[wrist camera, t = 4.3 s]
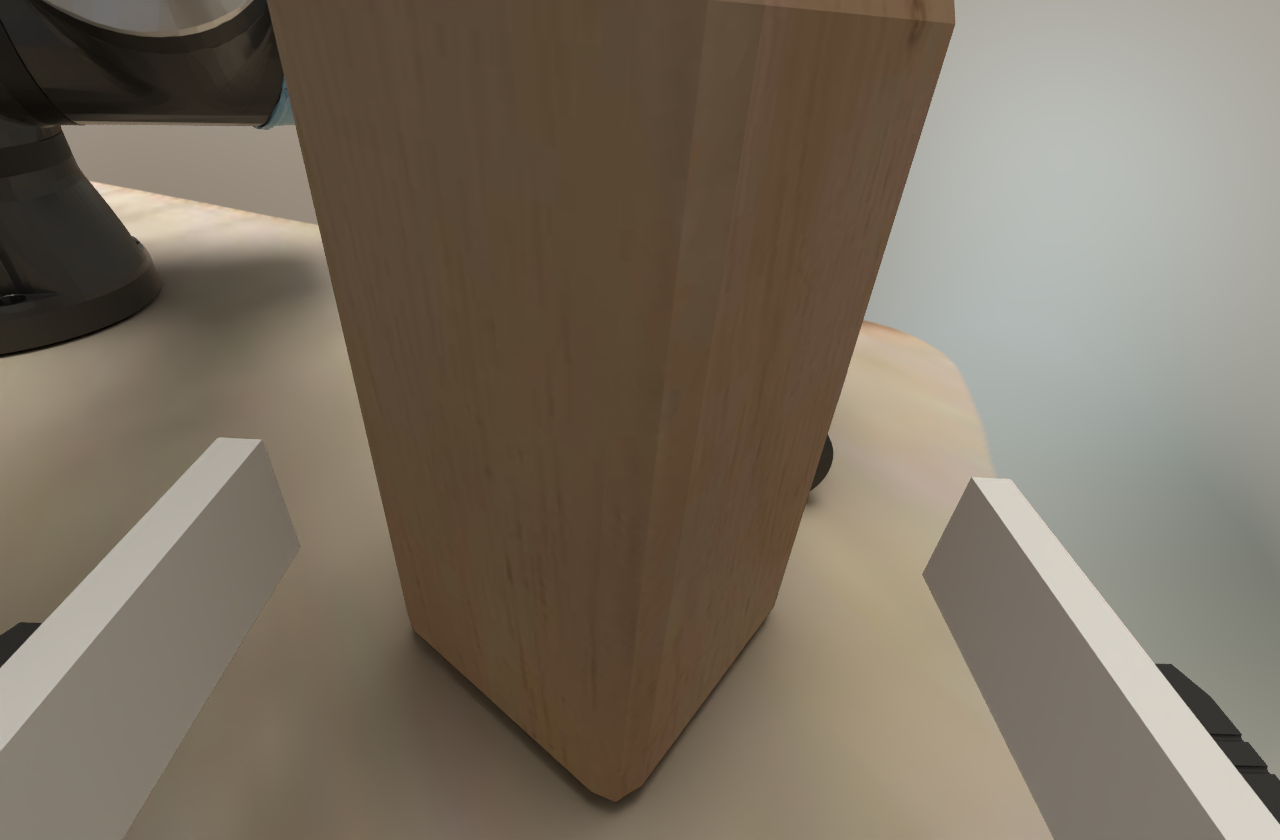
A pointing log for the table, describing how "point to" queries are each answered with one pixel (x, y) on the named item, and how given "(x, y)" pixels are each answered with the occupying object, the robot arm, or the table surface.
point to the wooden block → (602, 316)
